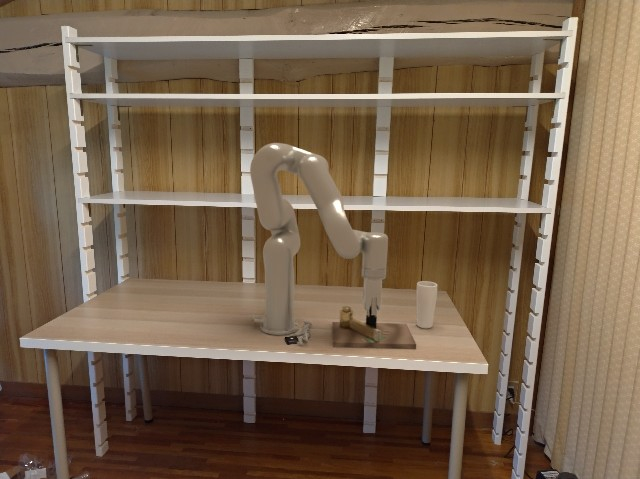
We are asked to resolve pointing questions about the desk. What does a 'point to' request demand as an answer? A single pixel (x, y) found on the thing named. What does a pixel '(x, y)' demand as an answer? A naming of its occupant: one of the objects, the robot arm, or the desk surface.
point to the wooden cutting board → (390, 338)
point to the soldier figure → (304, 333)
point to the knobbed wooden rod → (357, 324)
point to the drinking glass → (426, 303)
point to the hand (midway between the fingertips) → (370, 327)
